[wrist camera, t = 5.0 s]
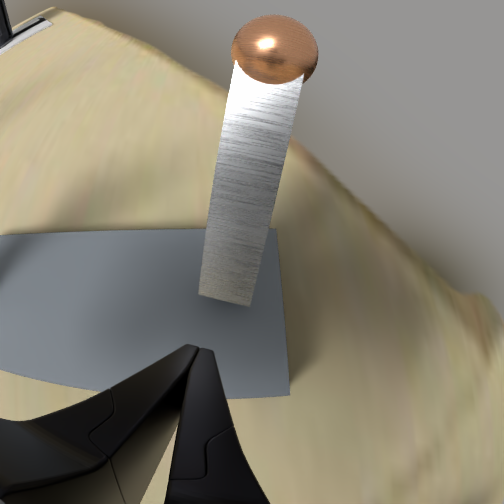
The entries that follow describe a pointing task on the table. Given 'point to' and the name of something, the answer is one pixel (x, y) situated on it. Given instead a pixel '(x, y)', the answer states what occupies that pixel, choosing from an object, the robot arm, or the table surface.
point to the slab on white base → (18, 29)
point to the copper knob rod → (253, 151)
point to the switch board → (133, 310)
